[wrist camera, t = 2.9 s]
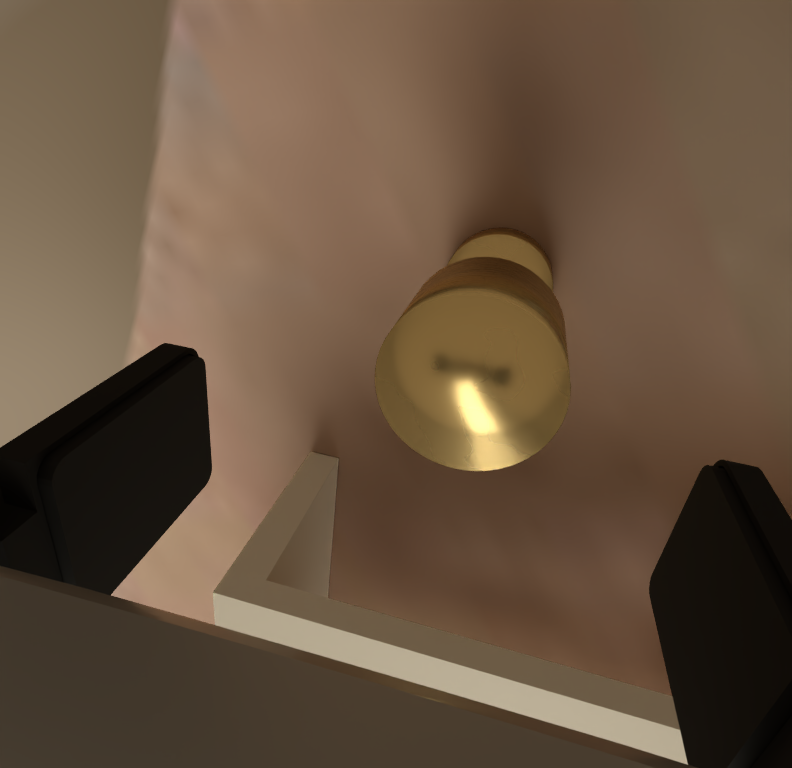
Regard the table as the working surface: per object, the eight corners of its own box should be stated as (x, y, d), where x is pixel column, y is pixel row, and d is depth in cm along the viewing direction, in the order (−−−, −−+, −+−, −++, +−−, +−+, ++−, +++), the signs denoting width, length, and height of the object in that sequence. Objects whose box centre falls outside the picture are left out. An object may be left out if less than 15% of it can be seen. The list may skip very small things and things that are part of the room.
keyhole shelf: (837, 578, 25) (989, 820, 17) (707, 768, 33) (766, 1005, 24) (310, 451, 30) (212, 592, 21) (301, 645, 37) (226, 809, 28)
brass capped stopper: (574, 231, 22) (595, 316, 12) (543, 346, 24) (543, 489, 15) (450, 211, 22) (384, 278, 13) (432, 324, 25) (366, 447, 16)
